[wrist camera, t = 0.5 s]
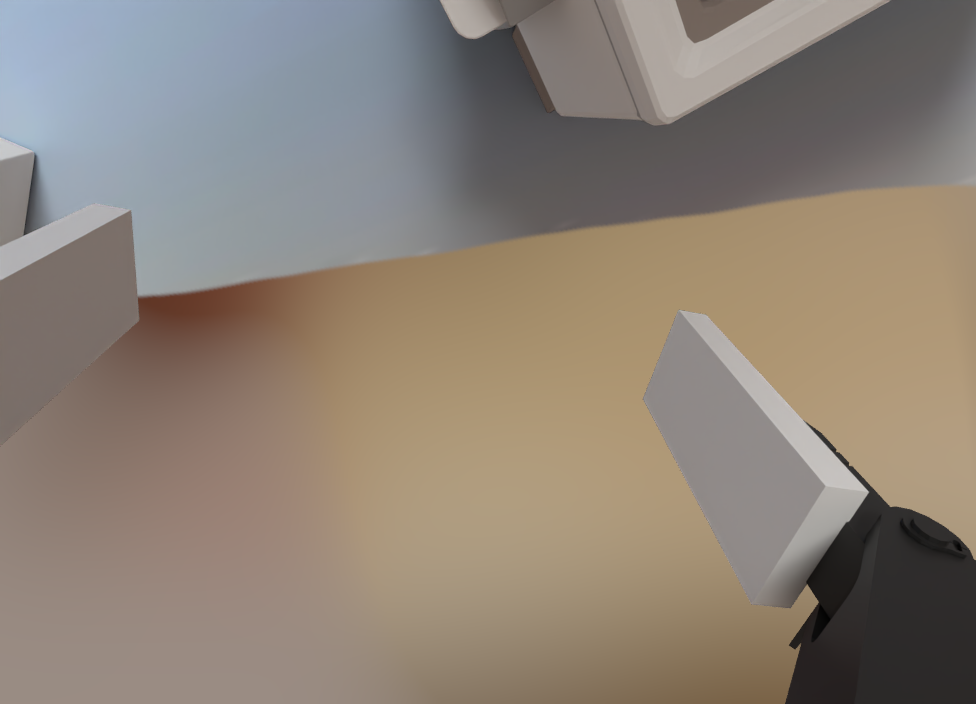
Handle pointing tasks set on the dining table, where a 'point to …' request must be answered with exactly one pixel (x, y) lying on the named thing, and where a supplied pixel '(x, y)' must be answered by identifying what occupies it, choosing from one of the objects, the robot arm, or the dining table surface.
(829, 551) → the robot arm
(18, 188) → the milk carton
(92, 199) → the dining table surface
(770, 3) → the toaster
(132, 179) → the dining table surface
